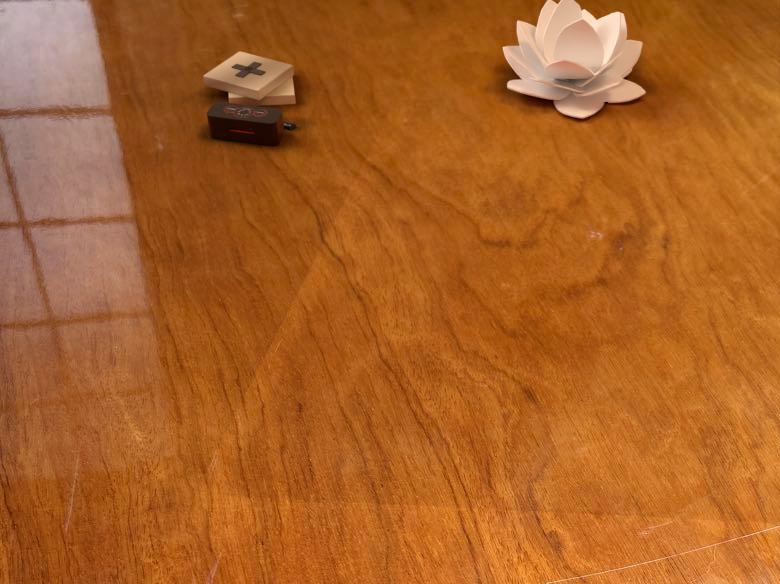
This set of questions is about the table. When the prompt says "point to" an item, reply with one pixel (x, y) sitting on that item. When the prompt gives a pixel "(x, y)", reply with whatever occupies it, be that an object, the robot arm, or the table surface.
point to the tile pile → (253, 80)
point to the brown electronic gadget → (247, 124)
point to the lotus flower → (574, 59)
